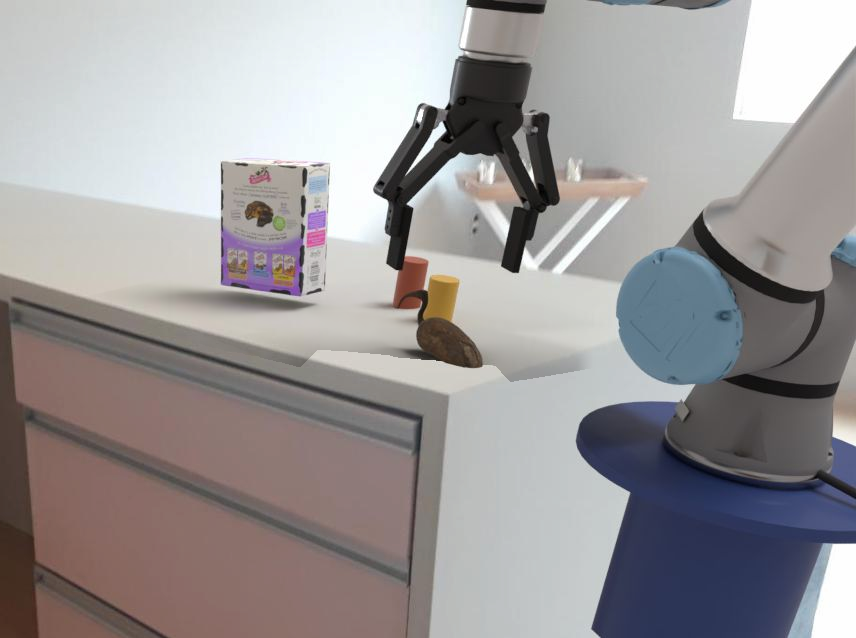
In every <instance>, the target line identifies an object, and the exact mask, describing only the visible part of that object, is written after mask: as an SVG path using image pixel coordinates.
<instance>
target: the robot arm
mask: <svg viewBox="0 0 856 638" xmlns="http://www.w3.org/2000/svg"><path fill="white" fill-rule="evenodd" d="M588 1H590V2H597V3H602V4H605V5H609V6H615V5H617V6H630V5H633V6H642V5H645V6H647V5H649V6H661V7H671V8H679V9H683V10H688V11H696V10H702V9H711V8H717V7H720V6H723V5H726V4H727V3H729V2H731V1H732V0H587V2H588ZM547 2H548V0H466V3H465V8H464V12H463V18H462V24H461V29H460V34H459V40H458V44H457V47H458V49H459V50H461V51H462V55H458V56H457V58H455V61H454V66H453V70H452V76H451V80H450V81H451V82H450V87H449V99H448V102H447V104H446V106H445V107H444V108H440V107H437V106H433V105H432V104H431V105H430V104H428V103H425V102H421V103H419V104H418V105H417V107H416V110H415V114H414V117H413V120H412V125H411V126H410V128H409V130H408V132H407V133H406V134H405V136H404V138H403V139H402V141H401V142H400V144H399V146H398V147H397V149H396V150H395V152H394V153H393V155H392V157H391V159H390V160H389V161H388V163H387V164H386V166H385V168H384V169H383V171H382V173H381V174H380V175H379V177H378V179H377V180H376V182H375V184H374V185H373V187H372V191H373V193H374V194H375V195H377V196H379V197H380V198H382V199H383V200H386V201H387V212H386V217H385V224H384V231H385V232H384V233H385V235H387V236H389V237H390V238H389V244H388V250H387V254H386V260H385V264H386V265H388V266H389V267H390V268H392V270H394V271H398V270H403V265H404V259H405V256H406V253H407V247H408V241H409V236H410V232H411V225H412V220H413V214H414V210H415V209H414V207H413V206H411V205H409V204H408V203H409V202H410V201H411V200H412V199H413V198H414V197H415V196H416V195H417V194H418V193H419V192H420V191H422V189H423V188H424V187H425V186H427V184H428V183H429V182H430V181H431V180H432V179H433V178H434V177H435V176H436V175H437V174H438V173H439V172H440V171H441V169H443V168H444V167H445V166H446V165H447V164H448V163H449V161H451V160H452V159H455V158H456V157H457V156H458V155H460V154H463V155H466V156H475V155H480V154H481V155H484V156H487V157H495V156H496V157H497V158H498V160H499V162H500V164H501V166H502V168H503V169H504V172H505V174H506V175H507V178H508V180H509V182H510V184H511V185H512V187H513V189H514V191H515V193H516V195H517V197H518V199H519V201H520V203H521V205H522V206H513V208H512V213H511V218H510V223H509V227H508V232H507V236H506V241H505V245H504V250H503V255H502V259H501V264H500V267H501V268H503V269H505V270H506V271H508V272H509V273H511V274H519V273H520V271H521V270H520V269H521V265H522V260H523V257H524V252H525V248H526V245H527V244H526V243H527V242H529V241H531V242H532V240H533V238H534V236H535V233H536V232H535V231H536V227H537V224H538V219H539V215H540V214H543V213H545V212H546V211H547V208H548V207H555V206H557V205H558V204H560V201H561V196H560V192H559V186H558V181H557V176H556V172H555V166H554V161H553V157H552V151H551V147H550V141H549V127H550V122H551V121H550V119H551V117H550V115H549V114H548V113H547V112H544V111H541V110H537V109H530V110H529V111H528V112H523V105H524V102H525V100H526V98H527V95H528V90H529V86H530V82H531V81H530V80H531V76H532V71H533V66H532V64H531V63H530V62H529V58H530V59H531V58H533V57H534V56H536V54H537V50H538V46H539V45H538V44H539V40H540V35H541V29H542V24H543V19H544V13H545V10H546V5H547ZM441 123H442V124H443V126H444V129H445V131H444V133H442V134H441V135H440V136H439V138H438V139H437V140H436V141H434V142H433V147H431V148H430V150H429V151H428V152H427V153H426V154H425V155H424V156H423V157H422V158H421V159H420V160H419V161H418V162H417V163H416V164H415V165H414V166H413V164H414V163H415V161H416V160H417V158H418V156H419V155H420V153H421V152H422V150H423V149H424V147H425V145H426V144H427V142H428V141H429V139H430V137H431V135H432V133H433V131H434V130H436V129H437V128H439V126H440V124H441ZM520 129H522V132H523V133H524V134H525V142H526V146H527V150H528V151H527V152H528V156H529V160H530V165H531V170H532V175H533V180H534V182H533V180H532V178H531V176H530V174H529V172H528V170H527V168H526V166H525V163H524V162H523V160H522V158H521V156H520V149H519V148H518V146H517V144H516V142H515V140H514V138H513V137H514V136H515V135H516V133H517V132H518V131H519V130H520ZM412 166H413V167H412ZM411 167H412V168H411ZM855 227H856V45H855V46H853V48H852V50H851V51H850V52H849V53H848V55H847V56H846V57H845V58H844V60H843V61H842V62H841V63H840V65H838V67H837V69H836V70H834V73H833V74H832V75H830V77H829V79H828V80H827V81H826V83H825V84H824V85H823V86H822V87H821V89H820V90H819V91H818V93H817V94H816V95H815V97H814V98H813V99H812V100H811V102H810V103H809V104H808V105H807V106H806V107H805V109H804V111H803V112H802V113H801V114H800V116H798V118H797V119H796V121H795V122H794V123H793V124H792V126H791V127H790V128H789V130H788V131H787V132H786V134H785V135H784V136H783V137H782V138H781V140H780V141H779V142H778V144H777V145H776V146H775V147H774V148H773V150H772V151H771V153H770V154H769V155H768V156H767V158H766V159H765V160H764V161H763V162H762V164H761V165H760V166H759V168H758V169H757V170H756V171H755V173H754V174H753V175H752V177H751V178H750V179H749V180H748V181H747V183H746V184H745V185H744V187H743V188H742V189H741V191H740V192H739V193H738V194H736V195H734V196H728V197H727V196H726V197H721V198H716V199H713V200H711V201H709V203H708V204H707V205H705V207H704V208H703V209H702V210H701V212H700V213H699V214H698V215H697V217H696V218H695V219H694V220H693V222H692V223H691V225H690V226H689V227H688V229H687V230H686V231H685V232H684V234H683V235H682V236H681V238H679V240H678V242H677V243H676V244H675V245H674V246H669V247H665V248H664V247H663V248H659V249H657V250H654V251H653V252H652V253H650V254H648V255H646V256H644V257H643V258H641V259H640V260H638V261H637V262H636V263H635V264H634V265H633V266H632V267H631V269H629V271H628V272H627V273H626V275H625V277H624V279H623V281H622V283H621V285H620V287H619V291H618V294H617V298H616V305H615V317H616V318H617V320H618V327H619V328H618V337H619V339H620V342H621V344H622V346H623V348H624V350H625V352H626V354H627V356H629V358H630V359H631V361H632V362H633V363H634V364H635V365H636V366H637V368H639V369H640V371H642V372H643V373H644V374H646V375H647V376H649V377H651V378H652V379H655V380H656V381H659V382H661V383H665V384H668V385H673V386H674V385H675V386H685V385H693V387H692V389H691V390H690V392H689V393H688V395H687V396H686V398H685V399H684V401H683V400H682V398H681V399H680V400H679V401H678V402H679V403H678V404H677V406H676V407H675V410H676V412H677V413H675V414H674V415H673V417H672V418H671V419H670V421H669V423H668V425H667V426H666V430H665V433H664V437H663V440H662V444H663V446H664V448H665V450H666V451H667V452H668V453H669V454H670V455H671V456H673V457H674V458H675V459H677V460H678V461H680V462H682V463H683V464H685V465H687V466H689V467H691V468H693V469H695V470H698V471H700V472H702V473H705V474H708V475H710V476H713V477H716V478H719V479H723V480H726V481H730V482H733V483H737V484H742V485H746V486H751V487H757V488H764V489H772V490H784V491H798V490H808V489H813V488H817V487H820V486H822V485H823V484H825V483H827V484H829V485H830V486H832V487H834V488H836V489H838V490H840V491H841V492H843V493H845V494H847V495H849V496H851V497H852V498H854V499H856V488H854V487H853V486H851V485H849V484H847V483H845V482H843V481H841V480H840V479H838V478H836V477H834V476H832V475H830V472H831V469H832V466H833V459H834V452H833V449H832V447H831V444H832V437H834V436H833V433H834V401H835V397H836V395H837V391H838V390H839V386H840V383H841V381H842V378H843V376H844V373H845V370H846V367H847V364H848V362H849V359H850V356H851V355H852V354H851V353H852V351H853V349H854V345H855V343H856V235H854V234H850V233H851V232H852V230H854V228H855Z"/></svg>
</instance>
